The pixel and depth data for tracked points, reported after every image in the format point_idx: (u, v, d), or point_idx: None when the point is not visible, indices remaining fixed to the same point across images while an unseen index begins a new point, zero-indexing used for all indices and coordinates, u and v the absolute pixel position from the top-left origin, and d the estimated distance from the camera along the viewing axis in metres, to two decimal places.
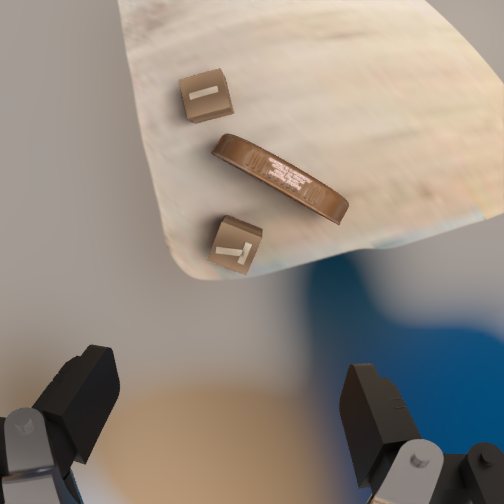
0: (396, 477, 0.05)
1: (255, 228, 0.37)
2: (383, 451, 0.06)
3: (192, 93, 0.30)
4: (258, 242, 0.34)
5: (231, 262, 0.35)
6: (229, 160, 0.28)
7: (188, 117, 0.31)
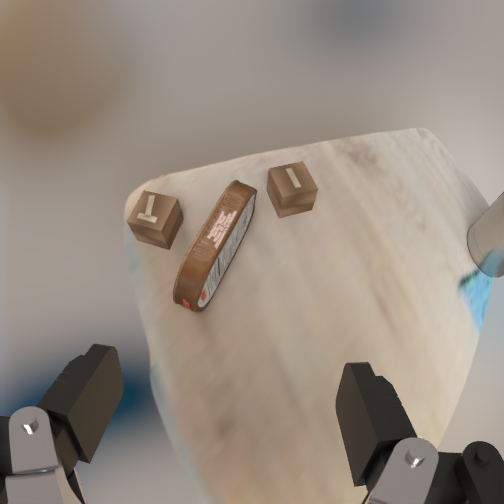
0: (391, 476, 0.05)
1: (170, 238, 0.37)
2: (378, 449, 0.06)
3: (291, 170, 0.38)
4: (156, 228, 0.34)
5: (140, 208, 0.35)
6: (232, 183, 0.33)
7: (269, 169, 0.38)
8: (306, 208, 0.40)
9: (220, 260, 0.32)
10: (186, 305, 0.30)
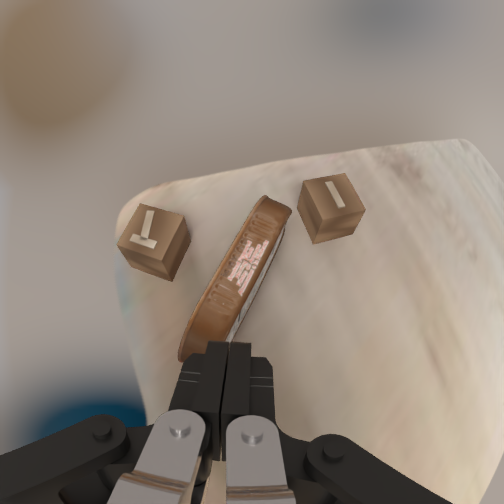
0: (236, 461, 0.06)
1: (173, 268, 0.28)
2: (225, 422, 0.07)
3: (332, 184, 0.29)
4: (155, 256, 0.25)
5: (134, 228, 0.27)
6: (260, 200, 0.24)
7: (305, 181, 0.29)
8: (347, 232, 0.31)
9: None
10: None
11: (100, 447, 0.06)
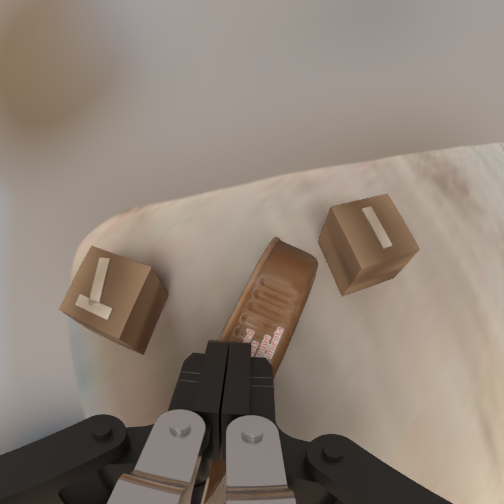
0: (237, 461, 0.06)
1: (142, 338, 0.19)
2: (225, 422, 0.07)
3: (371, 211, 0.20)
4: (110, 332, 0.16)
5: (82, 284, 0.17)
6: (268, 250, 0.14)
7: (332, 208, 0.20)
8: (388, 277, 0.22)
9: None
10: None
11: (100, 447, 0.06)
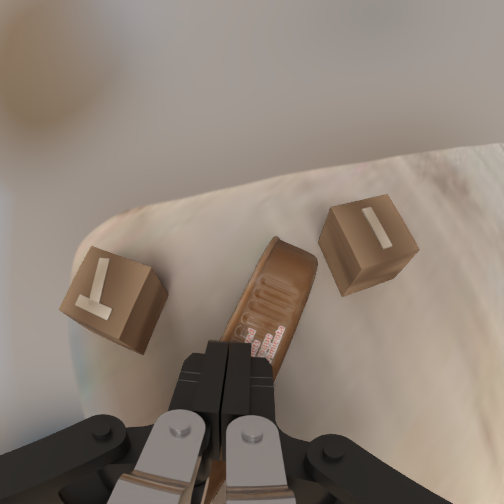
0: (237, 460, 0.06)
1: (142, 339, 0.19)
2: (225, 422, 0.07)
3: (371, 212, 0.20)
4: (110, 332, 0.16)
5: (82, 285, 0.17)
6: (268, 250, 0.14)
7: (332, 208, 0.20)
8: (387, 278, 0.22)
9: None
10: None
11: (100, 447, 0.06)
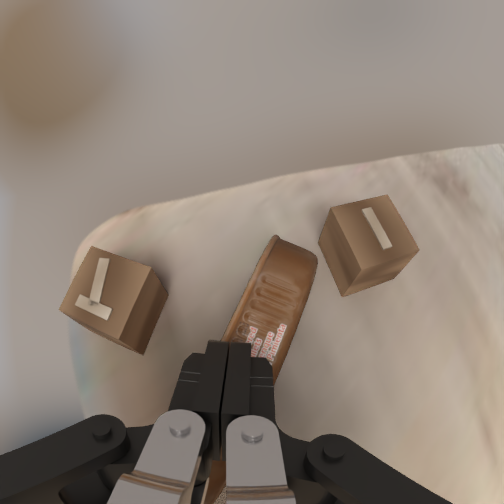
0: (237, 461, 0.06)
1: (142, 339, 0.19)
2: (225, 422, 0.07)
3: (372, 212, 0.20)
4: (110, 332, 0.16)
5: (82, 285, 0.17)
6: (268, 248, 0.14)
7: (332, 209, 0.20)
8: (387, 278, 0.22)
9: None
10: None
11: (100, 447, 0.06)
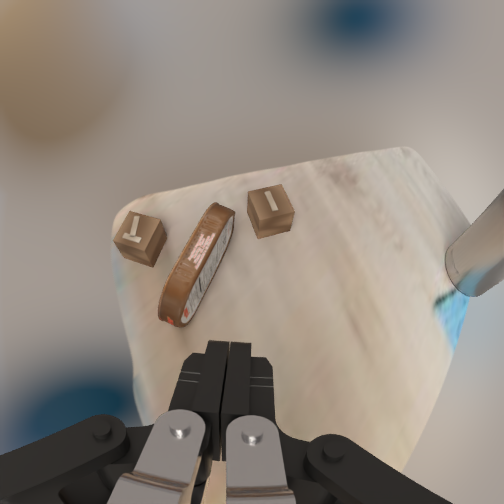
0: (236, 460, 0.06)
1: (153, 257, 0.39)
2: (225, 422, 0.07)
3: (269, 193, 0.40)
4: (140, 248, 0.36)
5: (125, 228, 0.37)
6: (210, 206, 0.35)
7: (249, 192, 0.40)
8: (284, 229, 0.42)
9: (201, 279, 0.34)
10: (170, 322, 0.32)
11: (100, 447, 0.06)
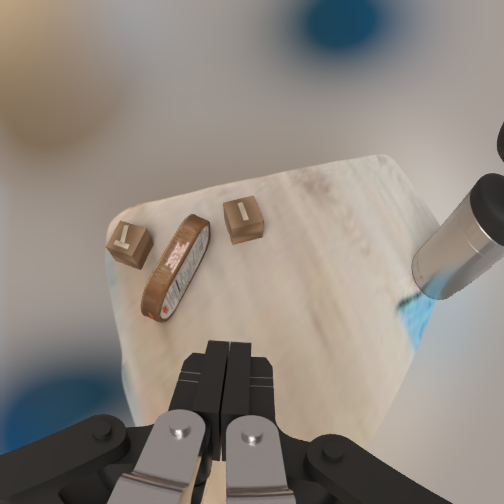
0: (236, 460, 0.06)
1: (141, 261, 0.44)
2: (225, 422, 0.07)
3: (242, 204, 0.45)
4: (128, 253, 0.41)
5: (116, 236, 0.43)
6: (187, 218, 0.40)
7: (224, 203, 0.45)
8: (256, 236, 0.47)
9: (178, 281, 0.39)
10: (151, 317, 0.37)
11: (100, 447, 0.06)
